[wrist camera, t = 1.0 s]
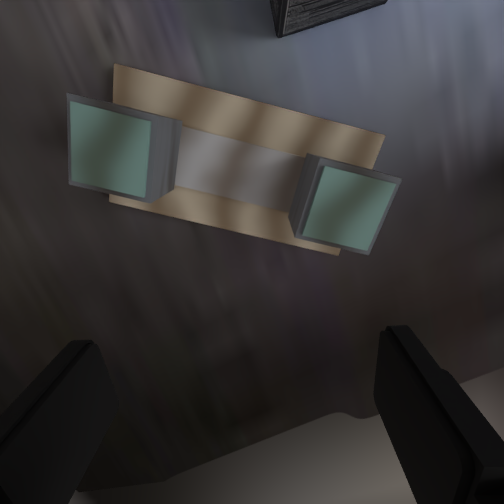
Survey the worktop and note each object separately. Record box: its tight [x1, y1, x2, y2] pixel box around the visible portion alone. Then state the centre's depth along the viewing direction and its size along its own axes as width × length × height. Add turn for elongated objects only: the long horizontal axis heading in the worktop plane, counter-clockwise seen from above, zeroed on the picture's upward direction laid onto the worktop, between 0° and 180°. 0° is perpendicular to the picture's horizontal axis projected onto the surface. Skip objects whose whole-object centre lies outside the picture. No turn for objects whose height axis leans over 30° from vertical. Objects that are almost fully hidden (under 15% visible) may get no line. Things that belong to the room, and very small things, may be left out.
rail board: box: [67, 63, 402, 256], centre depth 27 cm, size 28×14×10 cm, turn 77°
